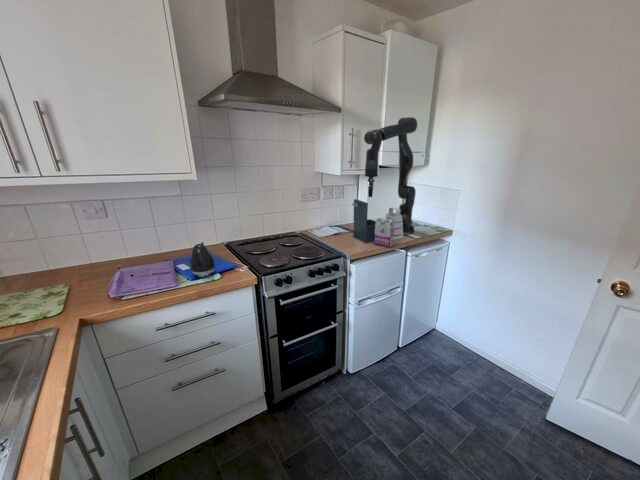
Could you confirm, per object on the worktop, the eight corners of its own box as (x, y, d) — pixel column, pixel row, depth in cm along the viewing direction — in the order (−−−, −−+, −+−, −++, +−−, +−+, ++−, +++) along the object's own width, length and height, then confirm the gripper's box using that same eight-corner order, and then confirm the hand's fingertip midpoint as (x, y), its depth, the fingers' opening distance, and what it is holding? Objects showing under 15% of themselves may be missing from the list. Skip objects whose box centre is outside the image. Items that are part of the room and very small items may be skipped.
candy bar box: (393, 245, 188) (395, 220, 182) (389, 247, 184) (391, 221, 178) (377, 242, 193) (378, 217, 187) (373, 244, 189) (375, 219, 183)
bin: (369, 234, 210) (370, 219, 206) (382, 240, 198) (383, 224, 194) (353, 236, 203) (353, 221, 199) (365, 243, 191) (366, 226, 187)
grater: (391, 240, 198) (393, 210, 191) (381, 236, 206) (383, 207, 199) (403, 238, 203) (406, 209, 196) (393, 234, 212) (395, 206, 204)
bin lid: (354, 198, 194) (348, 199, 191) (367, 202, 182) (360, 203, 180) (354, 220, 199) (347, 221, 197) (366, 225, 187) (360, 226, 185)
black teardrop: (218, 269, 146) (213, 240, 140) (213, 278, 136) (208, 247, 131) (196, 270, 144) (190, 240, 139) (189, 279, 135) (182, 248, 129)
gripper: (378, 169, 169) (376, 198, 175) (377, 167, 182) (375, 194, 188) (365, 168, 169) (364, 197, 175) (365, 167, 183) (364, 193, 189)
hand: (370, 195), depth 182 cm, fingers open, 8 cm apart
